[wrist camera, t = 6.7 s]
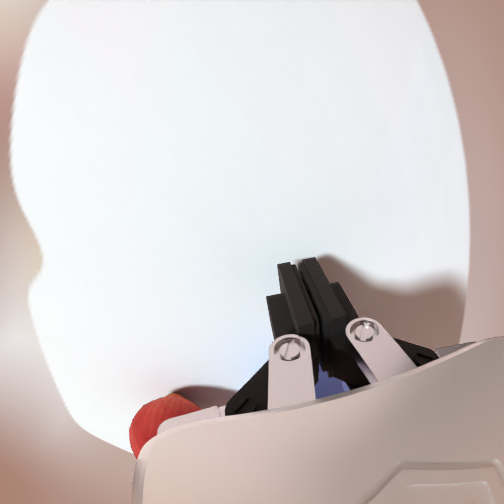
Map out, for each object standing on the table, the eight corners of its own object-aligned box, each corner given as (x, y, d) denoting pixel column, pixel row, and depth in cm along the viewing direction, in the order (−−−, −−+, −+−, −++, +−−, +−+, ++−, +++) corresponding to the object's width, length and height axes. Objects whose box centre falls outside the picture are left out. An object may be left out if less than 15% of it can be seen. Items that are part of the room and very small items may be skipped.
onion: (231, 387, 18) (240, 495, 11) (198, 420, 20) (198, 508, 13) (151, 361, 16) (133, 477, 9) (129, 399, 18) (115, 491, 11)
